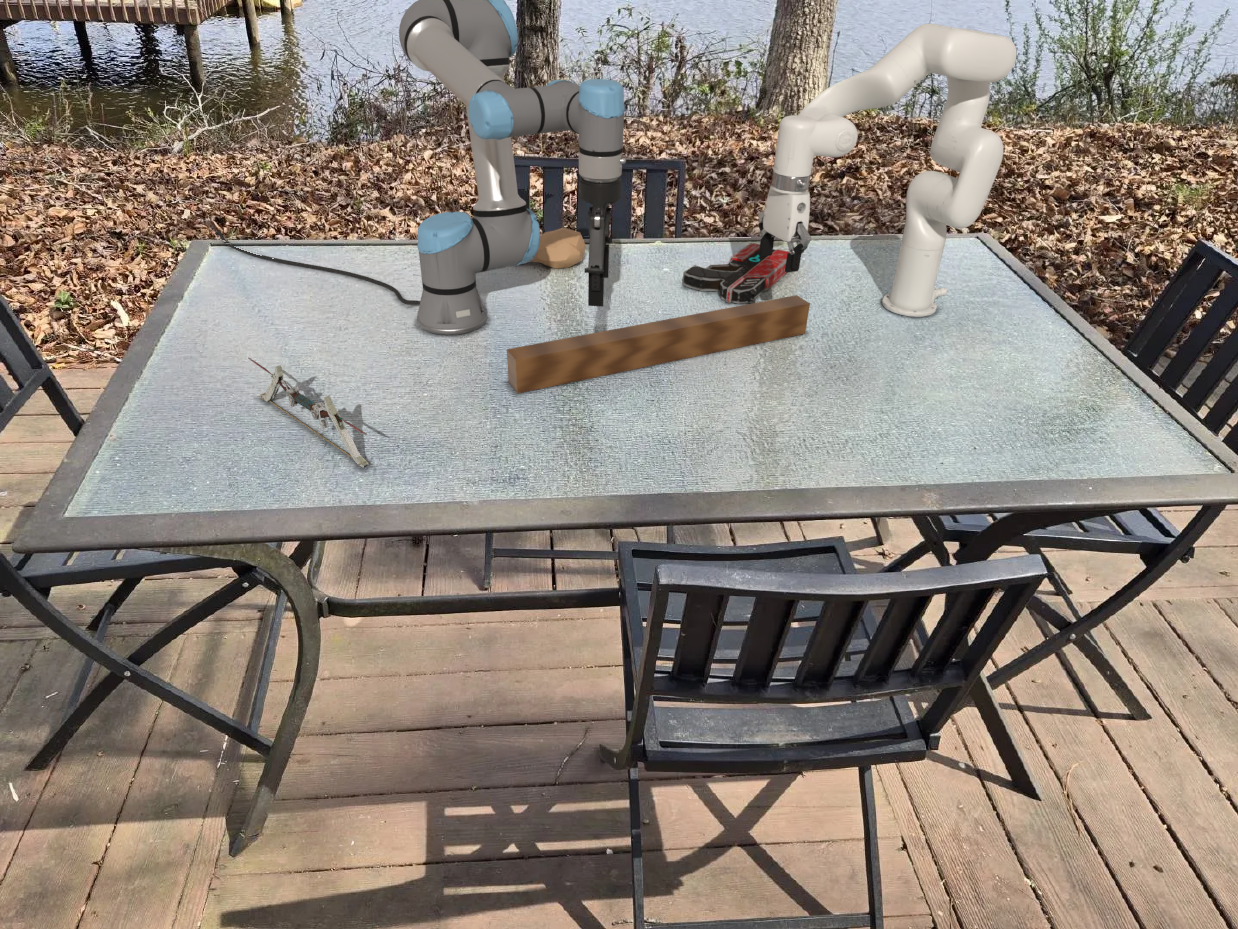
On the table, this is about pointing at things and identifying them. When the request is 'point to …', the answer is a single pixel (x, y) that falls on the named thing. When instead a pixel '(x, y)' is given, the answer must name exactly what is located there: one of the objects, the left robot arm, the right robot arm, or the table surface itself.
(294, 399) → the bow
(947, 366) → the table surface
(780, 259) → the gun
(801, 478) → the table surface
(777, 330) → the post
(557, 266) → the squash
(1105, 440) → the table surface
